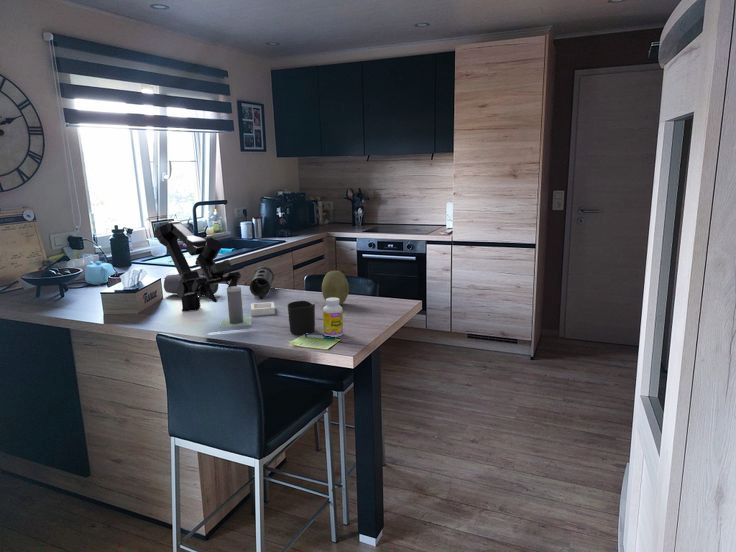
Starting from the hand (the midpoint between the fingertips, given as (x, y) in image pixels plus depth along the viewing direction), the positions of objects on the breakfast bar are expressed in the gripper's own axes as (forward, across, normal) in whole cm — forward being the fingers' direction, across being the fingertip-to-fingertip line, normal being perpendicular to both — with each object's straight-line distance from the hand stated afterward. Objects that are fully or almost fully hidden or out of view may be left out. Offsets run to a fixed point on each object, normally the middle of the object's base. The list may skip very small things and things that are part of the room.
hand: (226, 299), depth 190 cm
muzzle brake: (-13, +37, +27) cm, 48 cm away
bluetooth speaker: (-28, +12, +41) cm, 51 cm away
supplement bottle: (+36, +14, -24) cm, 46 cm away
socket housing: (+8, +14, +5) cm, 17 cm away
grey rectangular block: (+9, 0, +2) cm, 9 cm away
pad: (+10, 0, +2) cm, 10 cm away
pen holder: (+28, +10, -16) cm, 34 cm away
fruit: (+17, +42, -4) cm, 45 cm away
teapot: (-72, -4, +87) cm, 113 cm away
